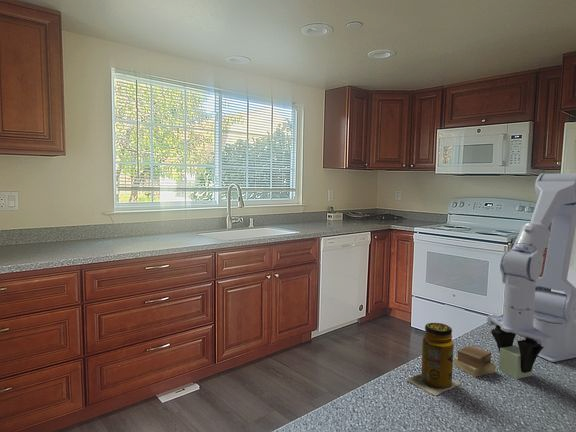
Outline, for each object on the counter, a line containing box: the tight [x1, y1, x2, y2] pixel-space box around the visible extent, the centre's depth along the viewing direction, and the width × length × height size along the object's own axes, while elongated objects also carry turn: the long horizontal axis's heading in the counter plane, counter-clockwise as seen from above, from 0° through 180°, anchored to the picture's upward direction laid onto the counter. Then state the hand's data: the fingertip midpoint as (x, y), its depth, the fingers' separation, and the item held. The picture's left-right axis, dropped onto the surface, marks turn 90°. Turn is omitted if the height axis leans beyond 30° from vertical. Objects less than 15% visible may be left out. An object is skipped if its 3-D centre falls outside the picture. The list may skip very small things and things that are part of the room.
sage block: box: [498, 344, 534, 380], centre depth 86 cm, size 4×4×5 cm
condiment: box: [405, 322, 462, 397], centre depth 81 cm, size 7×8×12 cm
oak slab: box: [453, 356, 497, 378], centre depth 88 cm, size 6×6×2 cm
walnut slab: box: [457, 345, 492, 369], centre depth 88 cm, size 5×5×2 cm
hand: (515, 366), depth 86 cm, fingers closed on sage block, 4 cm apart
